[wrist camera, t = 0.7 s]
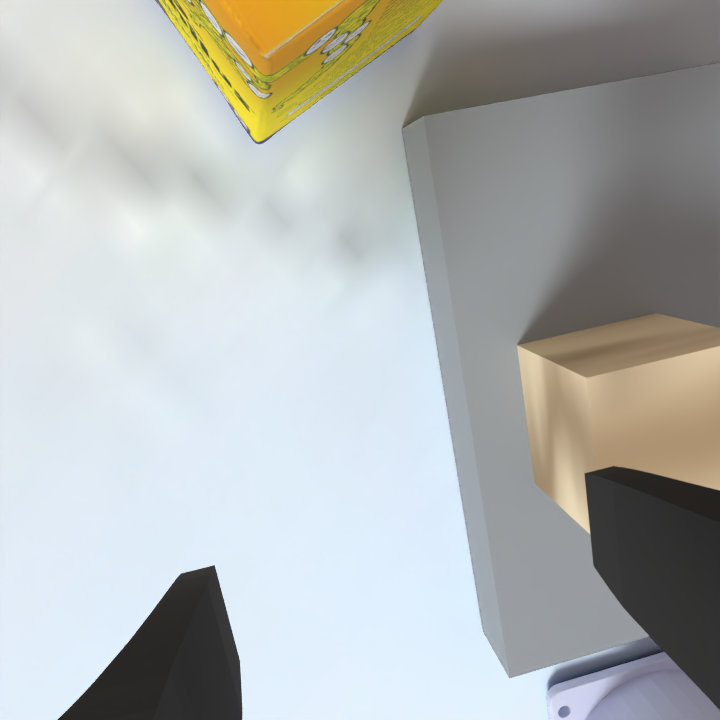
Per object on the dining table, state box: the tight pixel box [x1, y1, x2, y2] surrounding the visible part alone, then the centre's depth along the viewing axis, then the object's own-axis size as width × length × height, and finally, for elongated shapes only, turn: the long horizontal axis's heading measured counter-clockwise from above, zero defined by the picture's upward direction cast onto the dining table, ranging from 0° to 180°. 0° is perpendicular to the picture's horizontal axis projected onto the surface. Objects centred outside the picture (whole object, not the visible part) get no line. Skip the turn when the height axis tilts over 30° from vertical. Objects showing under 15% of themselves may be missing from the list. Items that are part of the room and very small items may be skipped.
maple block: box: [517, 313, 720, 534], centre depth 17 cm, size 4×4×4 cm
